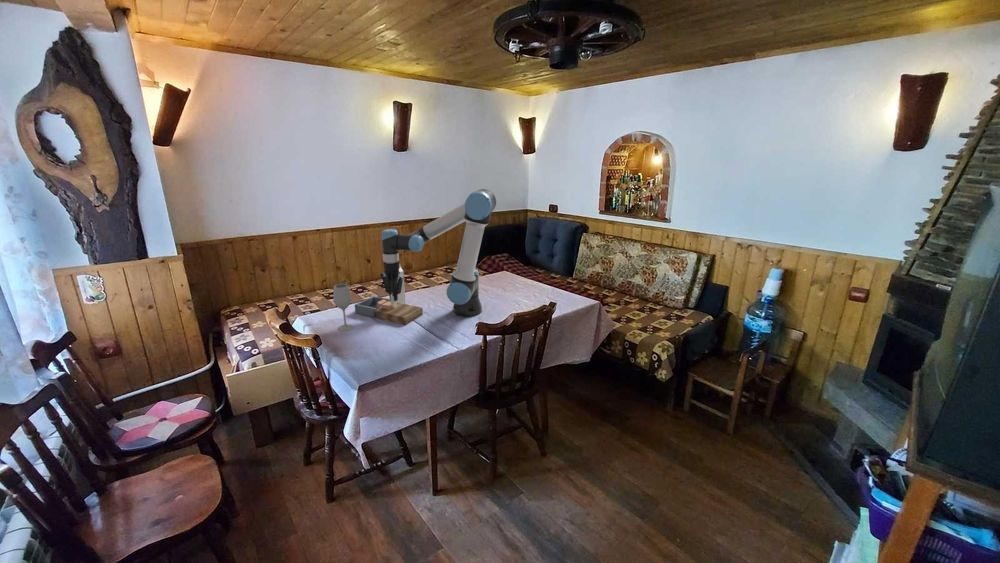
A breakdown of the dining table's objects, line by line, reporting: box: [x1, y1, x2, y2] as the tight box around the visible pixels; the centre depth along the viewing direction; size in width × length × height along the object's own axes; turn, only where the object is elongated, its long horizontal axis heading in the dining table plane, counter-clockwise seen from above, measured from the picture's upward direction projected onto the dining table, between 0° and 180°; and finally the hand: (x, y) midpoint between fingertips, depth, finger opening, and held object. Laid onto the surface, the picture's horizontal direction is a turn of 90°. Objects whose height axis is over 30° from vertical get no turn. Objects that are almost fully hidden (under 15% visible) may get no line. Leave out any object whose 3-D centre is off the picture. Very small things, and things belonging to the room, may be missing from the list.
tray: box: [354, 295, 391, 319], centre depth 204 cm, size 13×14×5 cm
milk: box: [397, 263, 406, 304], centre depth 212 cm, size 6×6×22 cm
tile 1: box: [376, 299, 387, 309], centre depth 202 cm, size 5×5×2 cm
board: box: [375, 303, 424, 326], centre depth 198 cm, size 18×14×4 cm
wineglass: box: [332, 283, 355, 332], centre depth 182 cm, size 8×8×21 cm
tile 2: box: [382, 301, 394, 310], centre depth 199 cm, size 5×5×2 cm
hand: (394, 306), depth 198 cm, fingers closed
